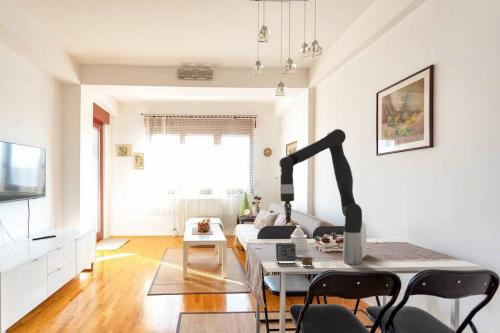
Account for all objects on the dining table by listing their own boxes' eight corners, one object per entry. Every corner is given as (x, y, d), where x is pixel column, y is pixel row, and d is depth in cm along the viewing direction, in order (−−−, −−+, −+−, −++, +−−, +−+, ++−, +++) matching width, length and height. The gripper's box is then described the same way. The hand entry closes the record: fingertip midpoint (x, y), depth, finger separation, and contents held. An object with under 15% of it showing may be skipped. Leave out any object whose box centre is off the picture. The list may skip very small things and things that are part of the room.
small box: (294, 260, 205) (294, 242, 205) (296, 263, 199) (295, 244, 199) (275, 260, 205) (275, 242, 205) (277, 263, 198) (276, 244, 198)
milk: (348, 252, 225) (347, 211, 226) (367, 254, 219) (366, 211, 220) (342, 256, 215) (342, 212, 215) (362, 258, 209) (361, 213, 209)
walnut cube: (310, 264, 197) (310, 255, 197) (312, 266, 192) (312, 257, 192) (301, 264, 197) (301, 255, 197) (302, 266, 192) (302, 257, 192)
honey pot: (308, 257, 212) (308, 227, 212) (287, 256, 214) (286, 226, 215) (309, 252, 224) (309, 224, 225) (289, 252, 227) (288, 223, 227)
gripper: (295, 193, 191) (296, 223, 191) (293, 191, 206) (294, 219, 205) (281, 193, 192) (282, 223, 191) (280, 192, 206) (280, 220, 206)
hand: (288, 221), depth 198 cm, fingers open, 8 cm apart
